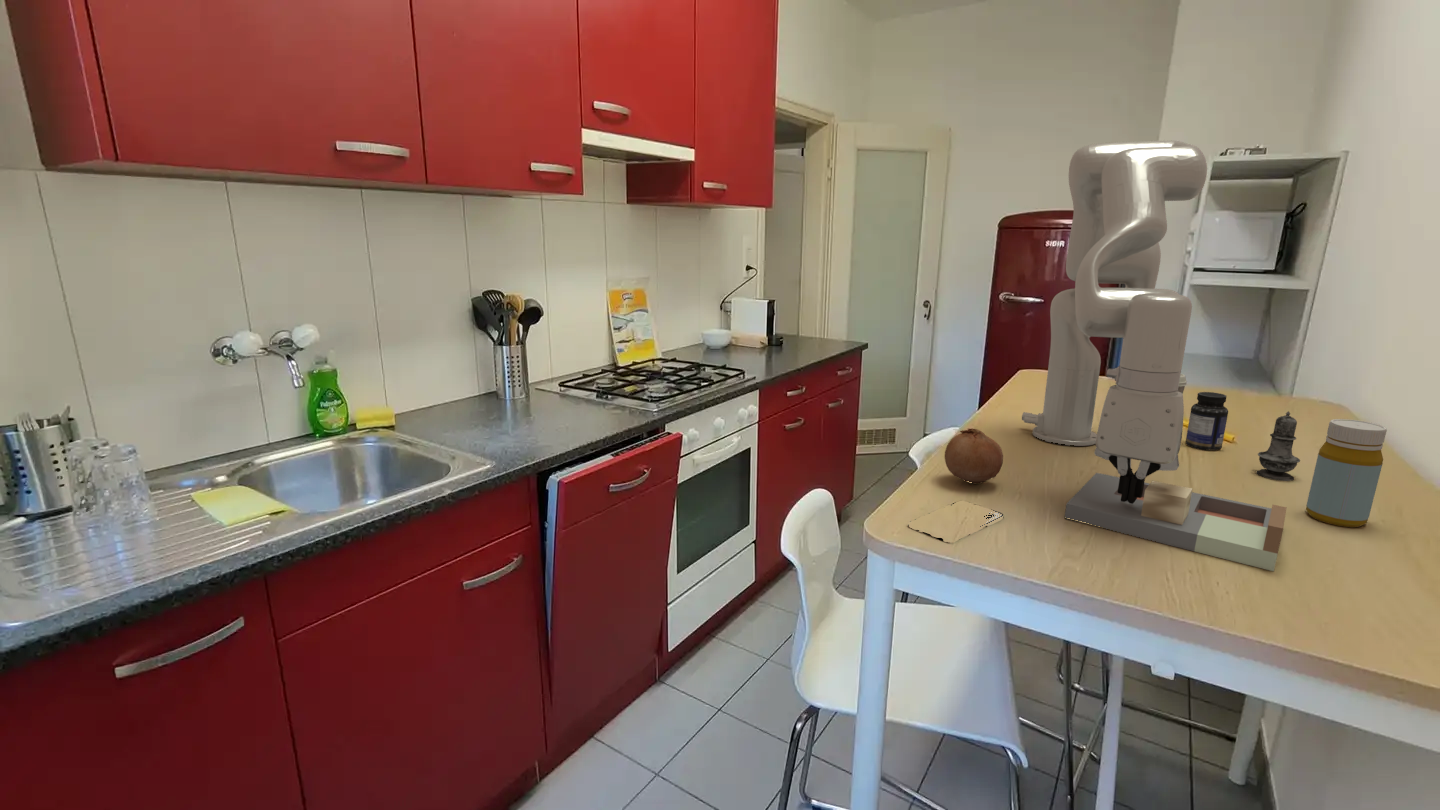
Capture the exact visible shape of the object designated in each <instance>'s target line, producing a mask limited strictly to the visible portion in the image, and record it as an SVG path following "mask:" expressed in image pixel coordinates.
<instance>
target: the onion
mask: <svg viewBox="0 0 1440 810" xmlns="http://www.w3.org/2000/svg"><path fill="white" fill-rule="evenodd" d="M944 463H945V466H946V468H947V470H948V471H949V472H950V473H951V474H952V475H953V476H954V477H956V478H958V479H960V480H962V481H964V480H965V481H964V482H966V481H969V482H972V483H979V484H983V483H986V482H987V481H989V480H991V479H995V478H996V477H997V475H998V474H999V473H1000V472H1001V469H1002V466H1003V464H1004V453H1003V450H1002V448H1001V446H1000V444H998V442H997V441H996V440H994V439H993V438H991V437H989V436H987V434H985V432H983V431H981V430H980V429H977V428H969V427H968V428H966V429H964V430H963V429H962V430H959V434H957V435H954V437H952V438H951V439H950V440H949V441H948V443H947V445H946V448H945V450H944Z"/></svg>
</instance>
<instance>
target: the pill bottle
mask: <svg viewBox="0 0 1440 810" xmlns="http://www.w3.org/2000/svg"><path fill="white" fill-rule="evenodd" d="M1196 400H1197V403H1194V404H1193V405H1192V406H1191V408H1190V413H1189V421H1188V424H1187V425H1188V426H1187V431H1186V437H1185V445H1186V446H1189V447H1190V448H1194V449H1197V450H1200V451H1201V450H1202V451H1217V450H1221V449H1222V448H1223V444H1224V443H1223V442H1224V438H1225V434H1226V432H1225V431H1226V427H1227V426H1226V425H1227V423H1228V421H1227V420H1228V417H1229V409H1228V408H1227V407H1226V406H1225V405H1224V404H1225V403H1226V401H1227V395H1226V394H1224V393H1219V392H1213V391H1211V392H1210V391H1200V392H1197V396H1196Z"/></svg>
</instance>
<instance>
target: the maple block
mask: <svg viewBox="0 0 1440 810" xmlns="http://www.w3.org/2000/svg"><path fill="white" fill-rule="evenodd" d="M1192 492H1193V487H1186V486H1181V485H1178V484H1177V485H1176V484H1171V483H1165V482H1162V481H1155V480H1151V482H1150V484H1149V485H1148V487H1147V488H1146V489H1145V493H1144V500H1143V507H1142V513H1141V516H1145V517H1149V518H1154V519H1158V520H1162V521H1167V522H1171V523H1176V524H1180V525H1182V524H1183V523H1184V521H1185V519H1186V517H1187V515H1188V512H1189V506H1190V500H1191V495H1192Z"/></svg>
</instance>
